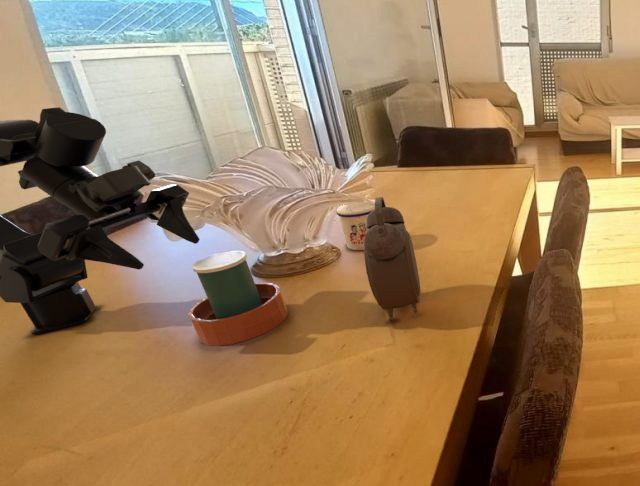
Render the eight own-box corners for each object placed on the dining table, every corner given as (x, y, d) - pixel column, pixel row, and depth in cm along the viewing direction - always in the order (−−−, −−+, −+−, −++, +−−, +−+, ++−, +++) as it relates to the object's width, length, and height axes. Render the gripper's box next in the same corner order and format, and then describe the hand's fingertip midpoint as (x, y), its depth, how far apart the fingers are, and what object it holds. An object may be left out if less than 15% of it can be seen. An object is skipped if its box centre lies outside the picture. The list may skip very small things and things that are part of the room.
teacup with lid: (349, 255, 104) (335, 205, 100) (343, 241, 111) (330, 194, 107) (406, 240, 111) (395, 193, 106) (397, 229, 117) (387, 184, 113)
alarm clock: (380, 292, 88) (354, 191, 81) (421, 284, 91) (400, 185, 83) (377, 334, 76) (345, 219, 68) (425, 323, 79) (400, 211, 71)
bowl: (194, 358, 72) (181, 330, 70) (206, 321, 81) (195, 296, 79) (288, 331, 78) (278, 305, 76) (288, 300, 87) (280, 276, 85)
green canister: (217, 340, 75) (188, 273, 70) (222, 321, 80) (195, 257, 75) (268, 326, 78) (243, 262, 74) (270, 308, 83) (247, 247, 79)
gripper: (10, 167, 60) (126, 246, 64) (155, 136, 77) (240, 200, 81) (-9, 223, 64) (101, 295, 67) (133, 182, 81) (215, 241, 84)
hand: (171, 253), depth 75 cm, fingers open, 9 cm apart
